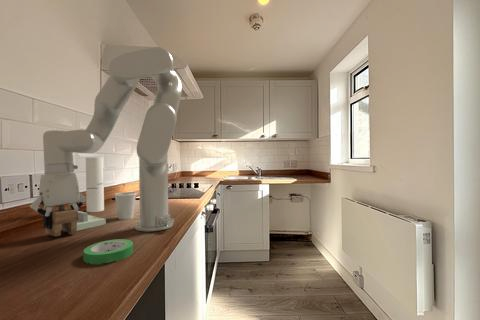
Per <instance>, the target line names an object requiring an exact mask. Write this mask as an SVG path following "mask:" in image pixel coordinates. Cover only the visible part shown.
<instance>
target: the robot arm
mask: <svg viewBox="0 0 480 320" xmlns="http://www.w3.org/2000/svg"><path fill="white" fill-rule="evenodd" d="M108 71H109V73H110V74H109V76H108V78H106V79H107V80H106V81H105V82H104V84H103V85H102V87H101V88H100V90H99V92H98V93H97V94H96V96H95V98H94V106H93V107H94V110H93V111H94V112H93V114H92V118H91V120H90V121H89V124H88V126H87V127H86V128H85V129H73V130H58V129H57V130H53V129H52V130H47V131H45V132H44V133H43V135H42V142H43V143H42V145H43V147H42V148H43V167H44V174H41V175H40V179H39V185H38V186H39V187H38V197H37V198H36V199H35V200H33V202H32V203H31V204H30V205H29V207H30V209H32V210H33V211H35V212H37V213H38V214H40V215H42V219H43V227H46V228H47V229H52V216H50V213H51V210H53V208H54V207H59V206H66V205H68V206H69V209H72V210H77V211H80V208H81V207H83V204H84V203H86V200H87V197H86V196H85V195H84V194H83V193H81V192H80V185H79V181H78V178H77V173H76V172H75V170H78V165H75V164H74V155H73V154H74V153H77V154H78V153H79V154H95V153H97V152H98V151H100V150H101V148H102V147H103V146H104V144H105V142H107V140H108V138H109V137H110V135H111V134H112V133H111V132H112V131H113V129H114V127H115V126H116V123H117V121H118V119H119V117H120V115H121V112H122V111H123V109H124V108H125V106H126V105H127V102H128V101H129V99H130V98H131V96H132V94H133V93H134V91H135V90H136V88H137V86H138V85H139V83H140V80H141V79H143V78H149V77H150V78H151V80H152V81H154V82H155V83H156V86H157V90H156V93H155V97H154V100H153V101H154V102H153V104H152V105H150V107H149V108H148V109H147V111H146V113H145V116H144V119H143V123H142V126H141V130H140V133H139V137H138V141H137V142H136V143H137V145H136V154H137V157H138V162H139V163H138V165H139V166H138V169H139V170H138V173H139V175H138V176H139V177H138V181H139V182H138V183H139V184H138V185H139V186H138V187H139V191H138V193H139V196H138V197H139V222H137V223H136V224H135V225H134V228H135V230H136V231H139V232H158V231H163V230H168V229H170V228H172V227H173V226H174V222H175V219H174V218H171V214H170V213H169V179H168V178H169V172H168V171H169V170H168V163H169V162H168V153H169V149H170V147H171V146H170V145H171V143H172V138H173V136H174V132H175V129H176V125H177V121H178V117H177V115H178V111H179V107H180V103H181V99H182V94H183V85H182V81H181V80H180V78H179V76H178V74H177V73H176V72H175V71H174V60H173V56H172V55H171V52H169V51H168V49H165V48H163V47H160V46H159V47H158V46H154V47H148V48H143V49H138V50H133V51H127V52H124V53H121V54H118V55H116V56H113V57H112V58H111V60H110V61H109V64H108ZM39 205H40V206H41V207H43V208H41V207H40V206H39ZM77 220H78V214H77Z"/></svg>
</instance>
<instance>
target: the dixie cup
mask: <svg viewBox="0 0 480 320" xmlns="http://www.w3.org/2000/svg"><path fill="white" fill-rule="evenodd" d="M113 196H114V198H115V199H114V201H115V205H116V211H117V218H118V220H130V219H133V218H134V216H135V215H134V214H135V206H136V205H135V204H136V196H137V192H136V191H135V192H133V191H127V192H126V191H124V192H116V193H114V194H113Z"/></svg>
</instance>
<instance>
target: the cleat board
mask: <svg viewBox="0 0 480 320" xmlns="http://www.w3.org/2000/svg"><path fill="white" fill-rule="evenodd" d="M88 213H89V212H87V211H85V212H84V211H82V210H78V211H77V214H78V220H77V231H81V230H86V229H91V228H96V227H99V226H104V225H106V224H107V223H106V222H107V221H106V218H103V217H99V216H95V215H90V214H88ZM61 226H62V224H61Z"/></svg>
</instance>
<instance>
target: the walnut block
mask: <svg viewBox="0 0 480 320" xmlns="http://www.w3.org/2000/svg"><path fill="white" fill-rule="evenodd" d="M65 206H66V205H60V206H58V209H52V210H51V213H50V216H52V229H47V228H46V227H45V230H44V231H45V233H44V234H47V235H49V236H52V237H59V236H61V235H62V232H64V233H69V234H75V233H77V210H72V209H71V208H66V207H65ZM61 224H62V226H61Z"/></svg>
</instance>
